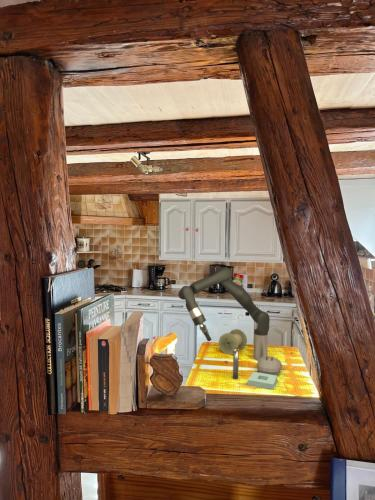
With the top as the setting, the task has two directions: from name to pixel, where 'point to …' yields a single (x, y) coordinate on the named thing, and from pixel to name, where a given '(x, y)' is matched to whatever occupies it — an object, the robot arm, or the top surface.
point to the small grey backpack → (269, 365)
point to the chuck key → (235, 363)
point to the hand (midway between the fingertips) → (209, 340)
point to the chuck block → (262, 380)
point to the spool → (232, 341)
